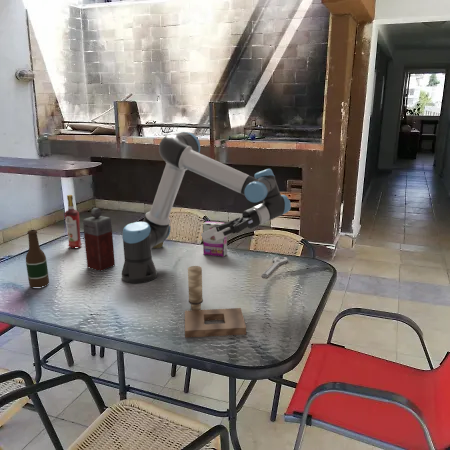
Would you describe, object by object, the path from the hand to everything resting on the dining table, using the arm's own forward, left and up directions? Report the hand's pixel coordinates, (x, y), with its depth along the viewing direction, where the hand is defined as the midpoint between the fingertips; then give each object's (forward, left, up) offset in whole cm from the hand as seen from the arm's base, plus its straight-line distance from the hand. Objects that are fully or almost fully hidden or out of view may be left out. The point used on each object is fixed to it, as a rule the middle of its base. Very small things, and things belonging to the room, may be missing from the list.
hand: (208, 237), depth 162 cm
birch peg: (-5, -9, -25) cm, 27 cm away
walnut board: (+1, -22, -25) cm, 33 cm away
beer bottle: (-70, +19, -25) cm, 77 cm away
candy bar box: (+6, +49, -25) cm, 56 cm away
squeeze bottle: (-24, +64, -25) cm, 73 cm away
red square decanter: (-49, +39, -25) cm, 68 cm away
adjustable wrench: (+31, +29, -25) cm, 49 cm away
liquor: (-67, +68, -25) cm, 99 cm away
